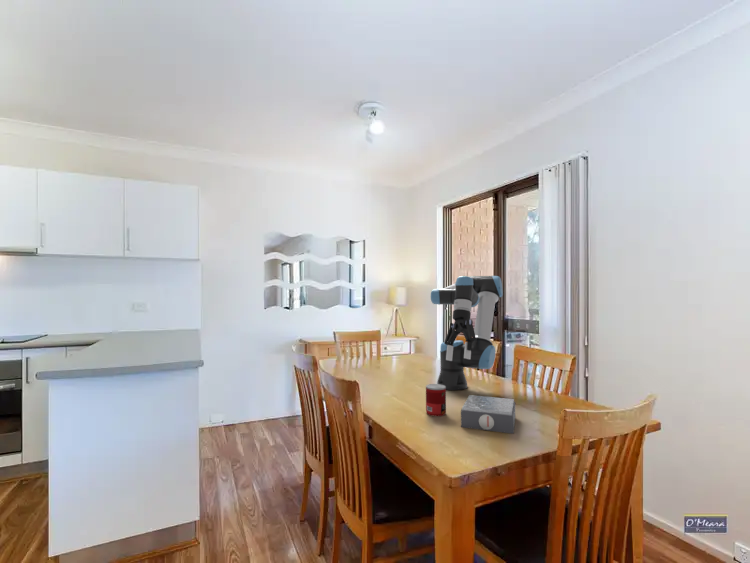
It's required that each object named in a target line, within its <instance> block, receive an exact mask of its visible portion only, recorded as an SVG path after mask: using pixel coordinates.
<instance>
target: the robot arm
mask: <svg viewBox="0 0 750 563" xmlns="http://www.w3.org/2000/svg"><path fill="white" fill-rule="evenodd" d="M503 292H504V290H503V282H502V279H501V277H500V276H498V275H471V276H467V275H466V276H465V275H461V276H458V277H456V281H455V282H454V283H453V284H450V285H448V286H446V287H444V288H433V289H432V290H431V292H430V300H431V301H430V302H431V303H432V304H433V305H439V306H440V305H450V306H451V305H453V311H452V319H453V320H454V323H453V322H449V328H448V331H447V334H446V337H445V339H444V342H442V343H441V344H440V349H439V353H440V358H439V359H440V360H439V361H440V363H439V365H440V371H439V375H438V377H437V381H436V384H441V385H444V386H446V391H449V390H450V391H459V390H460V391H461V390H466V389H468V381H467V377H466V375H465V372H464V370H465V369H464V368H469V369H477V370H478V369H480V370H490V369H491V368H492V367H493V366H494V363H495V360H496V347H495V346H494V345H493V342H492V341H491V337H492V329H493V322H494V314H495V313H494V312H495V309H496V308H495V306H496V303H497V302H498V301H499V298H502V297H503V295H504V293H503ZM476 306H477V311H476V316H475V322H474V321H473V319H471V317H472V316H471V314H472V312H471V311H472V308H474V307H476ZM473 324H474V325H473ZM461 333H462V334H463V337H464V338H465V342H464V340H459V339H458V340H456V339H457V337H458V335H460V334H461Z"/></svg>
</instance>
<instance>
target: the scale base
mask: <svg viewBox="0 0 750 563" xmlns="http://www.w3.org/2000/svg"><path fill="white" fill-rule="evenodd" d="M515 421H516V401H514V405H513V411H512V416H510V415H501V414H492V413H483V412H474V411H465V410H462V408H461V410H460V427H461V428H464V429H465V428H468V429H475V430H481V431H488V432H489V431H490V432H495V433H496V432H498V433H505V434H512V435H513V434H515V433H514V432H515V423H516V422H515Z"/></svg>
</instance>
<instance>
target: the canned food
mask: <svg viewBox="0 0 750 563" xmlns="http://www.w3.org/2000/svg"><path fill="white" fill-rule="evenodd" d="M425 411H426V412H425V413H426V414H427V415H429V416H432V417H443V416H445V415H446V413H447V389H446V386H444V385H441V384H437V383H428V384H426V386H425Z"/></svg>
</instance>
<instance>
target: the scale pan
mask: <svg viewBox="0 0 750 563" xmlns="http://www.w3.org/2000/svg"><path fill="white" fill-rule="evenodd" d="M514 402H515V399H514V398H503V397H494V396H493V397H492V396H482V395H476V394H475V395H471V394H469V395H468V397H467V398H466V400H465V402H464V404H463V405H462V408H461V409H462V410H465V411H474V412H483V413H492V414H501V415H510V416H512V411H513V405H514Z"/></svg>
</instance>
